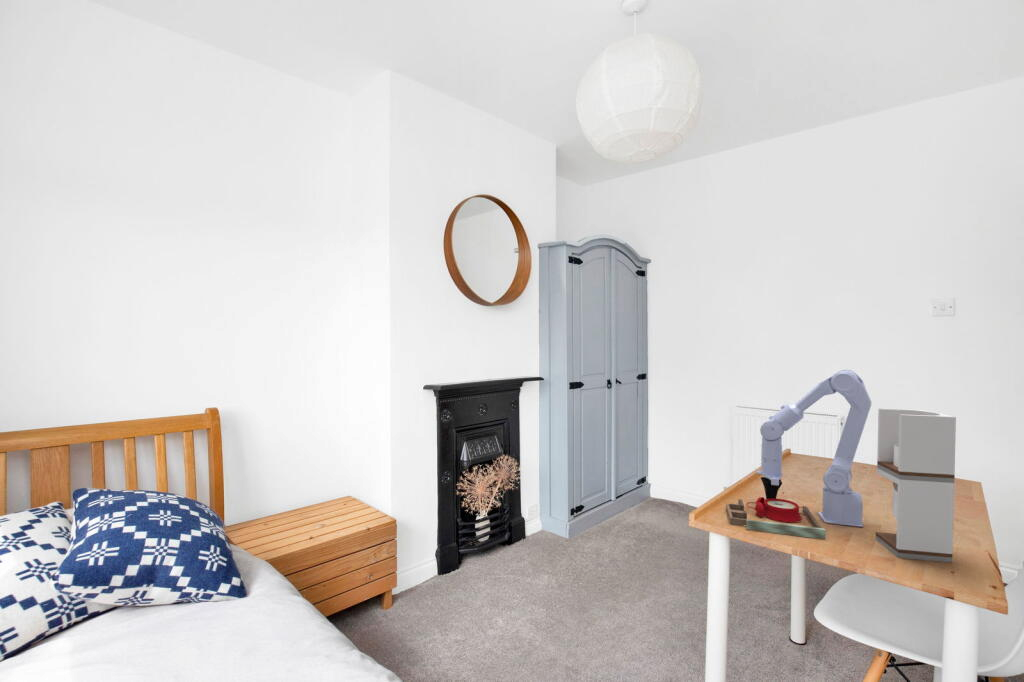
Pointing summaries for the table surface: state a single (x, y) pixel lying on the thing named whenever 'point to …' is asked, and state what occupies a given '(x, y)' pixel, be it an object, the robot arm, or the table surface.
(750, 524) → the wall
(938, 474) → the display case
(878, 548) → the table surface
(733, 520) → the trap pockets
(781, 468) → the robot arm
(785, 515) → the alarm clock
